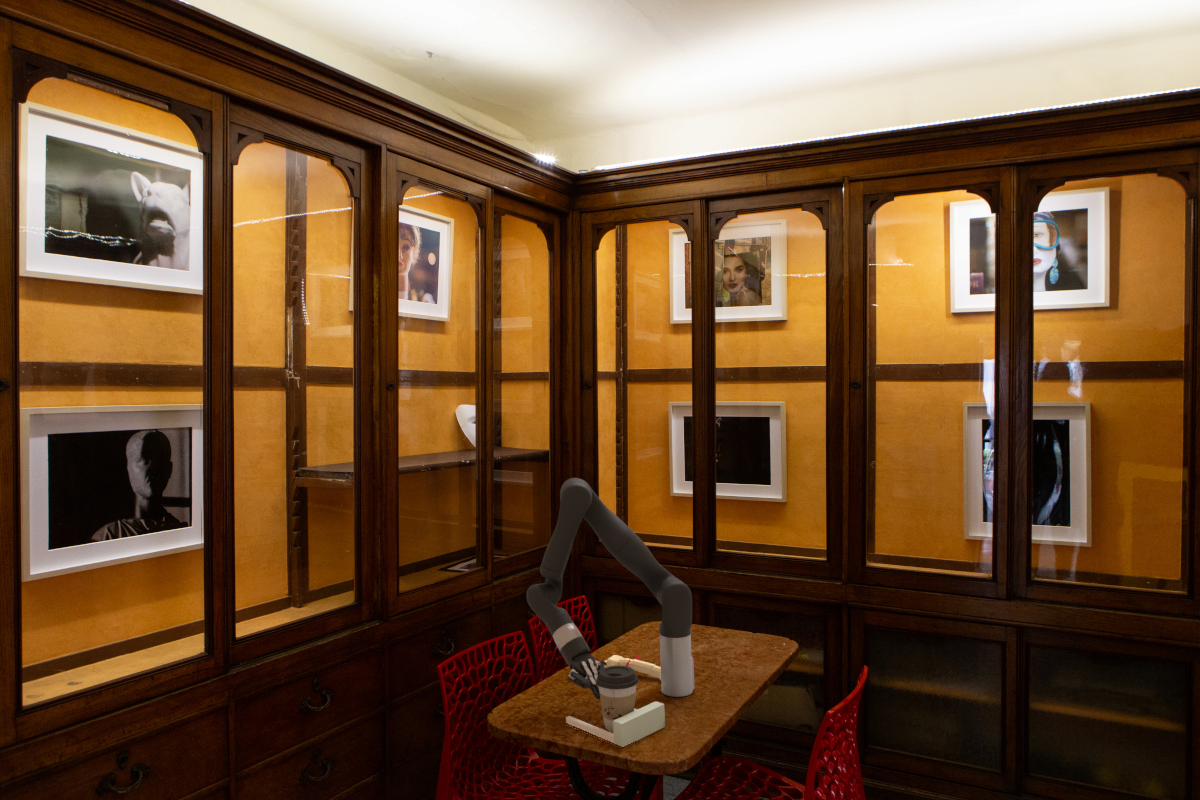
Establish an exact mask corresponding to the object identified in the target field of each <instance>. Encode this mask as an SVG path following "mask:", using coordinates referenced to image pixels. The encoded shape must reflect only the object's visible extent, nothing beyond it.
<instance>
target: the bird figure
mask: <svg viewBox="0 0 1200 800" xmlns="http://www.w3.org/2000/svg"><path fill="white" fill-rule="evenodd" d="M603 661H604V668H606V667H609V666H627V667H630V668H632V669H633V670H634V672H637V673H640V674H641V673H642V674H646V675H648V676H649V675H650V676H651V677H653V678H656V679H659V681H660V682H661V666H658V665H656V664H654V663H651V662H647V661H643V660H641V659H640V657H639V656H638V655H635V657H634V659H632V658H628V657H626V658H624V657H623V656H621V655H617V654H613V655H612V656H610V657H608V658H607V659H605V660H603Z"/></svg>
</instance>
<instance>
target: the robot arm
mask: <svg viewBox="0 0 1200 800" xmlns="http://www.w3.org/2000/svg"><path fill="white" fill-rule="evenodd" d="M559 498H560V499H559V500H560V505H559V512H558V517H557V522H556V524H555V525H556V526H555V528H554V531H553V533H552V535H551V538H550V540H549V542H548V544H547V546H546V548H545V549H546V550H545V552H544V555H543V557H542V561H541V564H540V568H539V573H540V575H541V576H542V577H543V578H545V582H543V583H536V584H532V585H531V586H529V587H528V589H527V590H526V601H527V604H528V606H529V608H530V609H531V610H532V611H533V613H534V614H535V615H536V616H537V617H538V618H539V619H540V620H541V621H542V622H543V623H544V624H545V625H546V627H547V629H548V631H549V633H550V635H551V636H552V638H553V640H554V643H555V645H556V647H557V649H558V650H559V652H560V654H561V655H562V658H563V660H564V661H565V662H566V664H567V665H569V669H570V672H569V674H568V675H567V677H566V678H567V680H569V681H570V682H572V683H574V684H576V685H577V686H579V687H580V688H582V689H583V690H585V689H589V690H590V691H591V692H592V694H593V696H594V697H595V699H596V700H597V701H601V699H600V693H599V686H598V685H597V683H596V681H597V680H596V678H597V676H598V675H599V673H600V670H602V669H603V668H604V661H605V660H600V661H599V660H597V659H596V658H595V657H594V656H593V654H591V648H590V646H589V645H588V643H587V642H586V639H585V638H584V637H583V634H582V633H581V631H580V630H579V629H578V627H577V626H576V624H575V623H574V622H573V620H572V618H571V616H570V614H569V612H568V611H567V610H566V609H565V608H563V607H560V606H557V604H558V603H559V602H560V600H561V598H562V594H563V585H564V583H563V582H564V573H565V570H566V567H567V563H568V560H569V558H570V555H571V551H572V548H573V547H572V546H573V544H574V541H575V538H576V535H577V532H578V530H579V527H580V525H581V523H582V522H583V519H584V520H585V521H586V522H587V524H588V525H589V526H590V527H591V529H592V530H593V532H594V533H595V535H596V536H597V537H598V540H600V542H601V543H602V545H603V546H604V547H605V549H606V551H608V552H609V553H610V555H612V556H613V557H614V558H615V559H616V561H618V562H619V564H621V565H622V566H623V567H624V568H626V569H627V570H628V571H629V572H630V573H632V574H633V575H634V576H636V577H637V578H639V579H640V580H641V582H643V584H644V585H645V586H646V587H647V588H648V590H649V591H650V593H652V594H653V596H654V597H655V599H656V600H657V602H658V603H659V604H660V605H661V622H660V623H659V630H658V631H659V650H660V651H659V652H660V653H659V655H660V658H659V659H660V667H661V681H660V682H661V683H660V684H661V687H660V688H661V693H662V694H663V695H666V696H668V697H675V698H679V697H680V698H681V697H686V696H690V695H691V694H693V691H694V690H695V670H694V669H695V667H694V664H695V663H694V657H693V656H692V639H691V637H692V636H691V635H692V631H691V629H692V626H693V596H692V595H693V594H692V592H691V589H690V587H689V586H688V585H687V584H686V583H685V582H683V581H682V580H681V579H679V578H678V577H676V576H675V575H673V574H672V573H671V572H669V571H668V570H667V569H666V568H665V567H664V566H663V565H661V564H660V563H659V561H658V560H656V558H655V557H654V555H653V553H652V552H651V551H650V549H649V547H648V546H647V545H646V543H645V542H644V541H643V540H642V538H640V537H639V536H638V535H637V534H636V532H634V531H633V529H632V528H631V527H629V526H628V525H627V524H626V523H625V522H624V520H622V519H621V518H620V517H619V516H617V515H616V514H615V513H614V512H612V510H611V509H609V508H608V507H607V506H606V504H605V503H604V502H603V501H602V500H601V498H599V496H598V495H597V494H596V493H595V491H594V490H593V489H592V487H591V486H590V484H589V483H588V482H587V481H586V480H584V479H582V478H578V477H571V478H568V479H567V480H565V481H564V482H563V483H562V485H561V487H560V492H559Z"/></svg>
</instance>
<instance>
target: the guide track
mask: <svg viewBox="0 0 1200 800" xmlns="http://www.w3.org/2000/svg"><path fill="white" fill-rule="evenodd" d="M665 715H666V714H665V703H663V702H659V701H653V702H650V703H649V704H647V705H644V706H642V707H640V708H635V707H634V711H633V712H631V713H629V714H627V715H625V716H622V717H620V718H618V719H616V720H614V721H613V731H614V733H611V732H608V731H607V730H606V729H604V728H601V727H598V726H595V725H593V724H590V723H588V722H586V721H583V720H581V719H578V718H576V717H574V716H571V715H568V716H565V724H566V723H568V724H570V725H572V726H575V727H577V728H580V729H582V730H584V731H587V732H589V733H591V734H593V735H596V736H598V737H601V738H603V739H605V740H608V741H610V742H612V743H614V744H617V745H619V746H621V747H624V746H626V745H628V744H630V745H631V743H632V744H634V743H636V742H638V741H640V740H641V739H643V738H646V737H647V736H649V735H651V734H653V733H656V732H657V731H659V730H661V729H663V728H666V719H665V717H666V716H665ZM635 741H636V742H635ZM633 742H634V743H633ZM612 743H611V744H612ZM614 744H613V745H614ZM619 746H618V747H619ZM628 746H629V745H628ZM621 747H620V748H621ZM626 747H627V746H626ZM624 748H625V747H624Z"/></svg>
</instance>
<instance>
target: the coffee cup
mask: <svg viewBox="0 0 1200 800" xmlns="http://www.w3.org/2000/svg"><path fill="white" fill-rule="evenodd" d="M596 680H597V681H596V683H597V685H598V686H599V693H600V699H601V700H600V705H601V711H602V717H603V724H604V727H605V730H606V729H607V730H608V731H610V732H613V734H614V731H613V721H614V720H616V719H618V718H620V717H622V716H625V715H627V714H629V713H631V712H633V711H634V708H635V704H636V693H637V685H638V683H639V676H638V675H637V673H636V671H634V670H633V669H632V668H630V667H627V666H609V667H606V668H603V669H602V670H600V673H599V675H598V676H597V678H596ZM607 730H606V731H607Z"/></svg>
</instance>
